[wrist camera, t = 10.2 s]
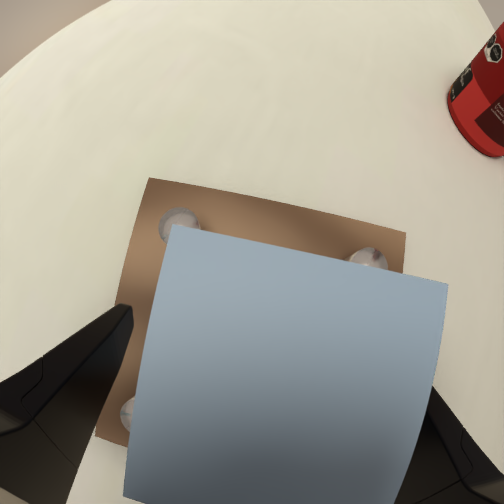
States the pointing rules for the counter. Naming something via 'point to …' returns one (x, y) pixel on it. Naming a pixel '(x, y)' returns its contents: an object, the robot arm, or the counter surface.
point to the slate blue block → (279, 376)
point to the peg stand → (232, 224)
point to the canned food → (482, 98)
